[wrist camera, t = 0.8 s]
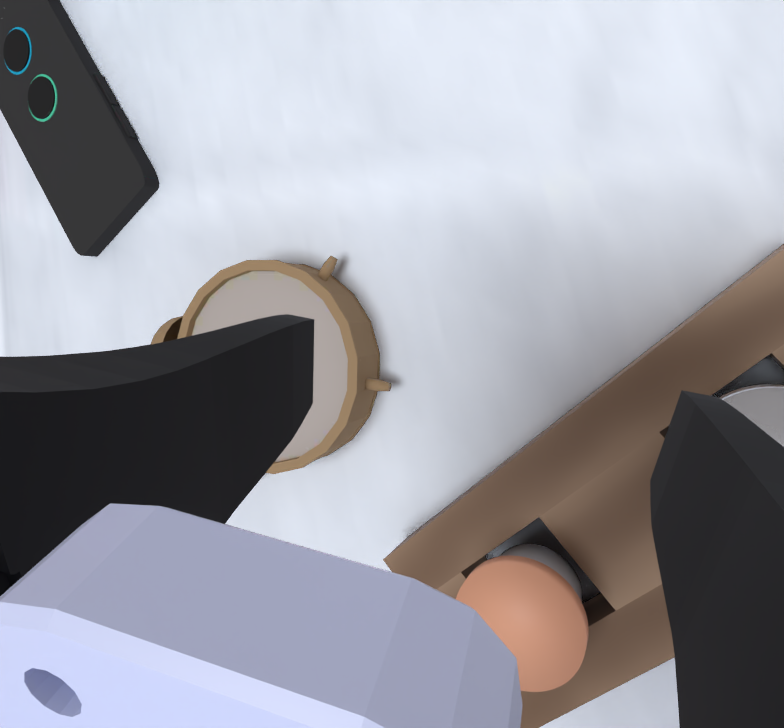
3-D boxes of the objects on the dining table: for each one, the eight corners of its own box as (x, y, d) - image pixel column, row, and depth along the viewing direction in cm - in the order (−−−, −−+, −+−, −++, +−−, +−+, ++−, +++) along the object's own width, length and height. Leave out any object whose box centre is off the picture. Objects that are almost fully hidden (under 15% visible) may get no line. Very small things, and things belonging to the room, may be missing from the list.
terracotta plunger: (623, 609, 24) (616, 655, 21) (530, 663, 27) (511, 713, 23) (540, 508, 26) (522, 538, 22) (457, 568, 28) (429, 603, 24)
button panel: (995, 446, 21) (1039, 468, 18) (529, 700, 29) (516, 739, 27) (783, 244, 23) (797, 238, 20) (406, 538, 31) (383, 559, 29)
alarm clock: (399, 427, 28) (158, 528, 32) (422, 414, 33) (210, 504, 37) (308, 216, 29) (85, 341, 33) (344, 233, 33) (145, 341, 38)
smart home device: (8, -71, 38) (147, 179, 35) (34, -57, 39) (170, 183, 36) (-47, 27, 41) (76, 260, 38) (-21, 36, 43) (99, 261, 40)
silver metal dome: (883, 457, 20) (923, 489, 17) (748, 536, 22) (760, 577, 19) (771, 344, 21) (788, 353, 18) (651, 429, 23) (648, 451, 20)
